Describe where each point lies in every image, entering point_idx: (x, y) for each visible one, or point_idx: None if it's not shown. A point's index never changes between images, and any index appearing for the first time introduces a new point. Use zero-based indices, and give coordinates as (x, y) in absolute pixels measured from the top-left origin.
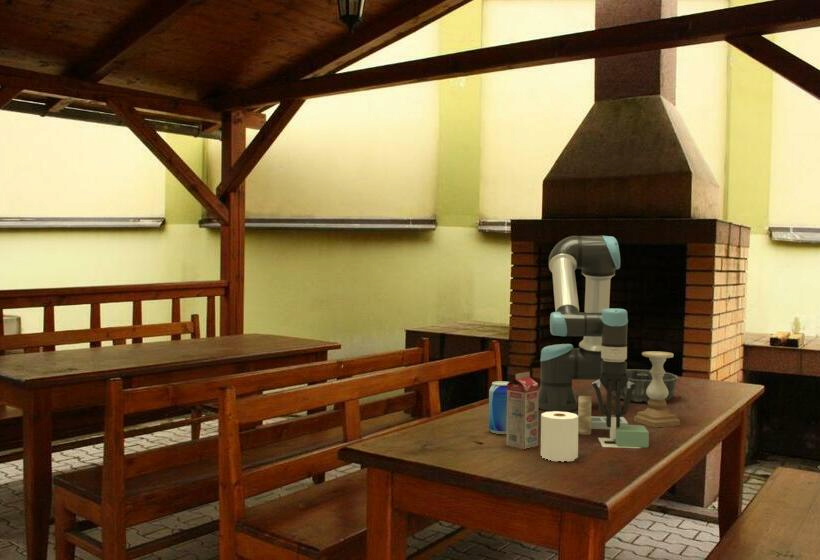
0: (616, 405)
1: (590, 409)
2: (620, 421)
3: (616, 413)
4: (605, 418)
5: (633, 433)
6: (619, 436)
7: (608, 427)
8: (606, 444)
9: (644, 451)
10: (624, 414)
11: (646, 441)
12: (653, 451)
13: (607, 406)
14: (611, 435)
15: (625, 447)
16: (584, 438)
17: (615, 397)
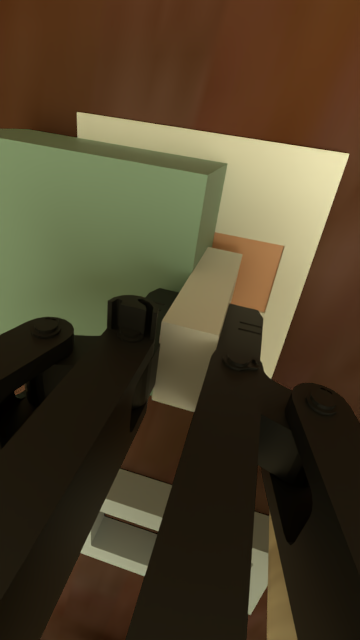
0: (93, 432)
1: (285, 599)
2: (95, 527)
3: (142, 350)
4: (146, 562)
5: (72, 147)
6: (199, 167)
7: (160, 493)
8: (286, 223)
9: (66, 50)
10: (53, 320)
11: (15, 132)
12: (9, 53)
13: (255, 463)
14: (236, 261)
15: (178, 129)
16: (345, 399)
17: (27, 637)
